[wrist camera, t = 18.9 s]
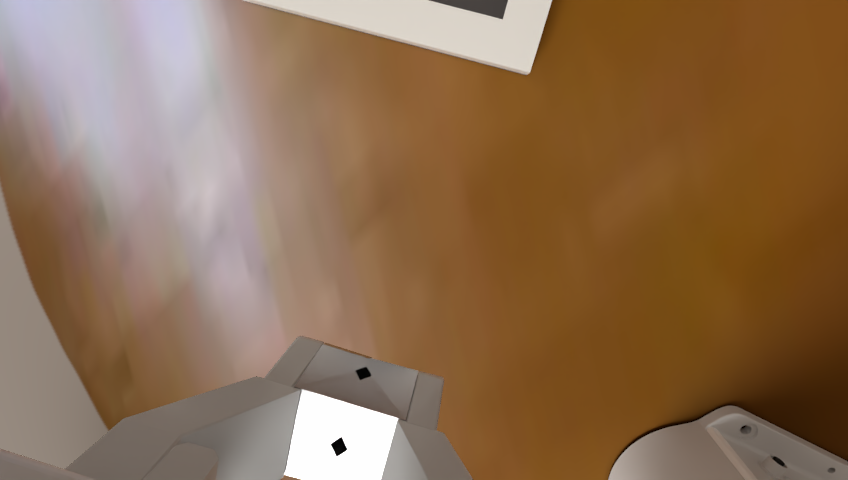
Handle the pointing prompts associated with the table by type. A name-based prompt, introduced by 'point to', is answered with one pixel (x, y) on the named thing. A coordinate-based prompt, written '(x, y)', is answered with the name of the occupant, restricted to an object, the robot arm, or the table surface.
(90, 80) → the table surface
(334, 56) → the table surface
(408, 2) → the socket board
